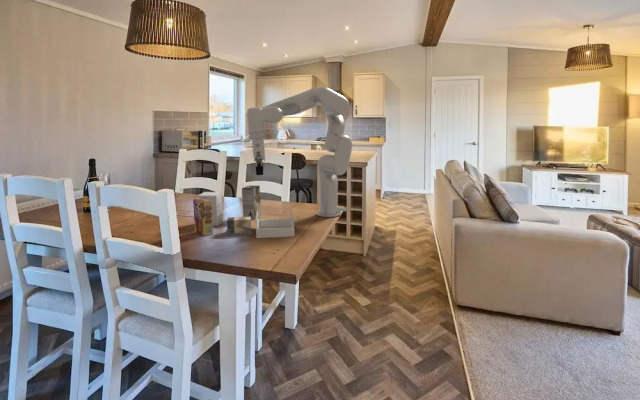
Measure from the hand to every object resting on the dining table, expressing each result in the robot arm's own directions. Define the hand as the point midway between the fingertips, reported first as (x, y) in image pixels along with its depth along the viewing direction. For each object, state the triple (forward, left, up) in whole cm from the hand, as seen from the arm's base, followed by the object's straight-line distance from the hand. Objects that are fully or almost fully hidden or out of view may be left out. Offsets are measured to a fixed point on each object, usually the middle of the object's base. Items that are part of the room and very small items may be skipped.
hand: (260, 173), depth 177 cm
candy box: (+25, +8, -26) cm, 37 cm away
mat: (+10, +9, -25) cm, 28 cm away
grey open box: (-6, +10, -25) cm, 28 cm away
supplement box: (+24, -8, -26) cm, 36 cm away
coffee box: (+5, -18, -26) cm, 32 cm away
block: (+10, +9, -25) cm, 28 cm away
